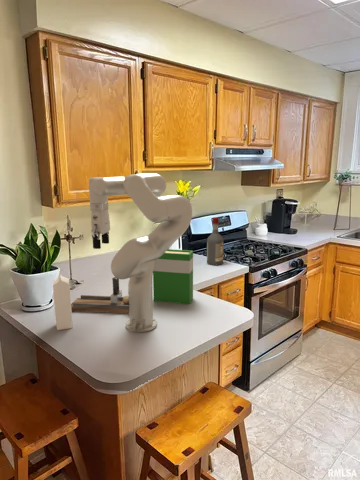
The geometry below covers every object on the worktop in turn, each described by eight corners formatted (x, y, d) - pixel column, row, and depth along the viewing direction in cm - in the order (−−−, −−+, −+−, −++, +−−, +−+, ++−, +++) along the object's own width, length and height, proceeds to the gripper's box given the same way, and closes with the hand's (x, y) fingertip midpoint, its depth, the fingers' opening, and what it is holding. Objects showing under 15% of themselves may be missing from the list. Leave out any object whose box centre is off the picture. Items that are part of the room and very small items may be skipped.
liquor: (205, 264, 231) (205, 218, 224) (212, 260, 238) (212, 216, 232) (217, 266, 226) (218, 219, 219) (224, 262, 233) (225, 217, 227)
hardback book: (153, 300, 171) (152, 252, 166) (158, 295, 178) (157, 248, 173) (189, 304, 167) (189, 254, 161) (193, 298, 174) (193, 250, 168)
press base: (138, 313, 156) (137, 296, 155) (68, 310, 160) (67, 293, 159) (143, 304, 166) (143, 288, 165) (77, 301, 170) (76, 285, 169)
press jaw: (117, 306, 159) (116, 280, 156) (111, 306, 159) (109, 280, 156) (122, 300, 166) (121, 275, 163) (115, 300, 166) (114, 275, 163)
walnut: (130, 306, 160) (129, 297, 159) (121, 305, 160) (121, 297, 159) (132, 302, 163) (132, 294, 163) (124, 302, 164) (123, 294, 163)
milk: (56, 330, 142) (51, 277, 137) (57, 323, 147) (52, 273, 142) (72, 328, 143) (68, 276, 138) (72, 321, 149) (68, 271, 144)
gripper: (99, 209, 142) (102, 251, 146) (114, 204, 159) (116, 241, 163) (82, 209, 143) (84, 250, 147) (98, 204, 160) (100, 241, 164)
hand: (101, 245), depth 155 cm, fingers open, 9 cm apart
